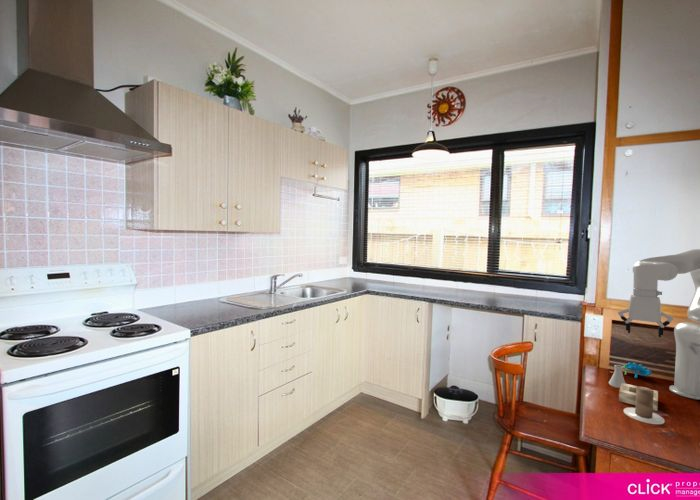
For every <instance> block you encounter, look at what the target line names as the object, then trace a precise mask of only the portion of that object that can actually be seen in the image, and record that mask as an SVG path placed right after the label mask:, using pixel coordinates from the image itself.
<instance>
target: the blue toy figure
mask: <svg viewBox="0 0 700 500" xmlns="http://www.w3.org/2000/svg"><path fill="white" fill-rule="evenodd" d="M622 366H623V369H624V371H625V372H624V375H626V376H627V374H628V373H634V378H635V379H637V378H638V375H639V376H641V377H644V376H645V377H649V376H652V375H651V374H652V371H651V370H650V369H648V367H647V366H644V367H643V364H641V363H639V364H637V363H636V362H628V363H625V364H623V365H622Z"/></svg>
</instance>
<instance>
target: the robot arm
mask: <svg viewBox="0 0 700 500" xmlns="http://www.w3.org/2000/svg"><path fill="white" fill-rule="evenodd" d="M632 273H633V288H632V289H633V292H632V294H630V298H629V303H628V304H629V305H628V308H625V309H622V310H619V311H618V312H617V314H618V315H619V317H620V319H621V320H622V321H623V322H624V323H625V331H627V334H630V333H631V322H632V321H640V322H650V323H657V325H658V331H657V332H658V335H657V336H658V337H659V338H661V337H662V336H664V328H665V327H666V326H668V325H670V323H671V322H672V321H673V320H674V317H673V316H672V315H670V314H667V313H665V312H663V311H662V304H661V298H660V297H659V296H662V295H663V291H660V290H658V285H659V284H658V283H659V281H664V282H667V281H672V280H673V279H675V278H676V277H677V275H681V274H682V275H683V274H684V275H685V274H688V273H690V276H691V279H692V282H693V284H694V294H693V297H692V299H691V301H690V304H689V306H688V309H687V312H686V316H687V318H688V319H689V320H690V321H693V322H688V321H685V322H683V321H682V322H679V323H677V324H676V325H675V326H674V329H673V333H674V340H675V364H674V366H675V367H674V381H673V382H674V383H673V384H674V385H673V384H672V385H669V386H668V387H669V388H668V389H669V391H671V392H672V393H674V394H676V395H678V396H681V397H684V398H688V399H692V400H700V248H699V249H698V248H697V249H690V250H687V251H683V252H681V253H677V254H671V255H663V256H653V257H648V258H643V259H641V260H638V261H636V262H635V263H634V265H633V267H632ZM626 313H628V317H627V318H626V317H625V315H624V314H626ZM662 317H664V318H666V321H663V322H662Z"/></svg>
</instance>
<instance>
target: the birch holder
mask: <svg viewBox="0 0 700 500" xmlns="http://www.w3.org/2000/svg"><path fill="white" fill-rule="evenodd" d="M625 383H626V382H625ZM625 383H621V387H620V388H619V390H618V391H619V392H618V402H621V403H626V404H629V405H633V406H636V389H637V387H639V386H638V385H633V384H628V383H626V384H625ZM652 390H653V391H654V397H653V411H655V412H656V411H657V412H658V408H659V407H658V405H659V403H658V402H659V391H658V390H654V389H652Z"/></svg>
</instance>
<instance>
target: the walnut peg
mask: <svg viewBox="0 0 700 500" xmlns="http://www.w3.org/2000/svg"><path fill="white" fill-rule="evenodd" d="M653 390H654V389H652V388H649V387H646V386H638V387H637V389H636V405H635V407H634V408H635V414H636V415H638V416H640V417H643V418H648V419H651V418H652V415H653V413H654V410H653V397H654V391H653Z"/></svg>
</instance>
